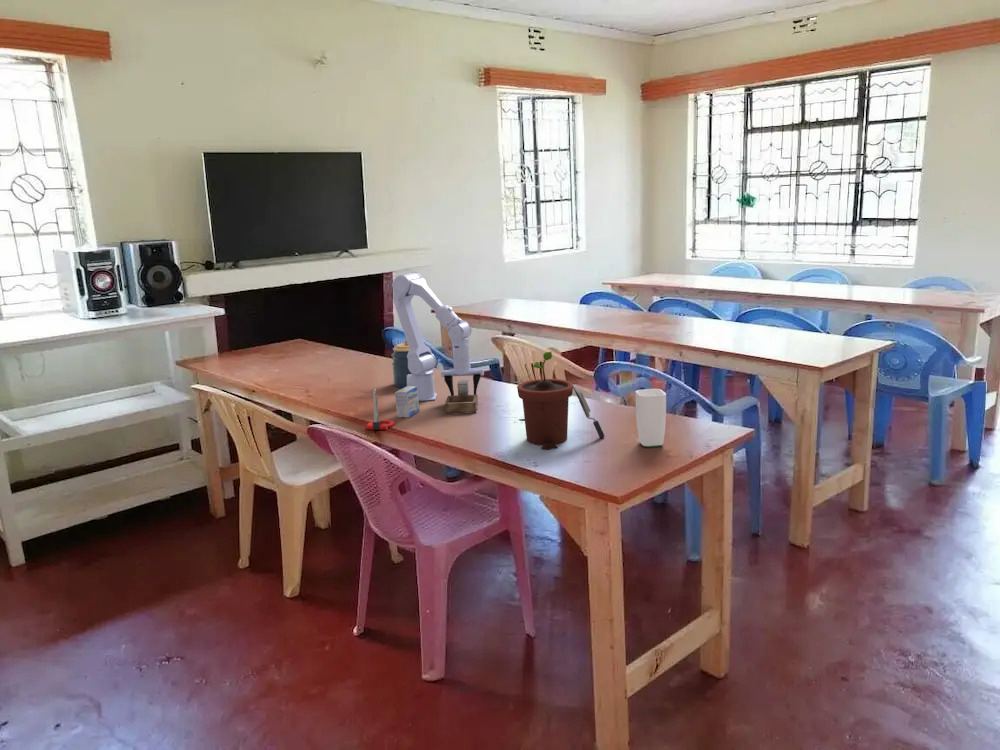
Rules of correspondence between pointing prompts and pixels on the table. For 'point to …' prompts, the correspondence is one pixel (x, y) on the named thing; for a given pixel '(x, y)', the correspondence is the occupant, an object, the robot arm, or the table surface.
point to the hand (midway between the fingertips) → (463, 396)
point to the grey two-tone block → (463, 387)
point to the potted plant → (549, 409)
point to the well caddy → (461, 404)
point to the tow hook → (377, 423)
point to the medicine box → (407, 401)
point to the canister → (400, 364)
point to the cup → (651, 416)
